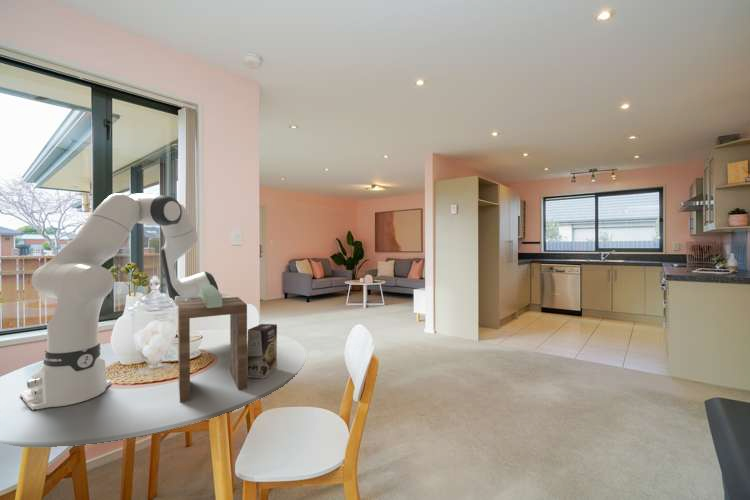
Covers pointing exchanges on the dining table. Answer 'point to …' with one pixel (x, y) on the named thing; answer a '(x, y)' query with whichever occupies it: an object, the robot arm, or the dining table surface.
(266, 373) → the coffee box
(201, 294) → the bar
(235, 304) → the stand
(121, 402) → the dining table surface
